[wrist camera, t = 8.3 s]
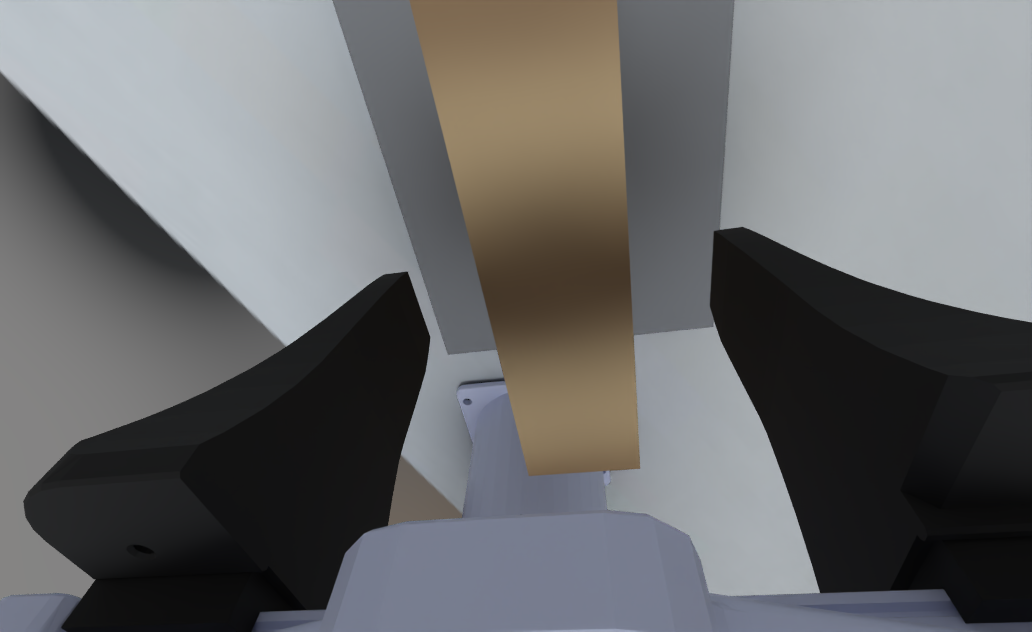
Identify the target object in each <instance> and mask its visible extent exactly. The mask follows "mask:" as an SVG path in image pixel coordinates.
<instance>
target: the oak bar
mask: <svg viewBox="0 0 1032 632" xmlns="http://www.w3.org/2000/svg"><path fill="white" fill-rule="evenodd" d="M409 1H410V5H411V9H412V13H413V17H414V21H415V25H416V29H417V33H418V37H419V41H420V45H421V49H422V53H423V57H424V61H425V65H426V69H427V73H428V77H429V81H430V85H431V89H432V93H433V97H434V101H435V105H436V109H437V113H438V117H439V121H440V125H441V128H442V132H443V136H444V140H445V144H446V148H447V152H448V156H449V160H450V164H451V168H452V172H453V176H454V180H455V184H456V188H457V192H458V196H459V200H460V204H461V208H462V212H463V216H464V220H465V224H466V228H467V232H468V236H469V240H470V244H471V248H472V252H473V256H474V260H475V264H476V268H477V272H478V276H479V280H480V284H481V288H482V292H483V296H484V300H485V304H486V308H487V312H488V316H489V320H490V324H491V328H492V332H493V335H494V339H495V343H496V347H497V351H498V355H499V359H500V363H501V367H502V371H503V375H504V379H505V383H506V387H507V391H508V395H509V399H510V403H511V407H512V411H513V415H514V419H515V423H516V427H517V431H518V435H519V439H520V443H521V447H522V451H523V455H524V459H525V463H526V467H527V471H528V475H529V476H538V475H553V474H568V473H582V472H597V471H612V470H627V469H640V457H639V437H638V416H637V396H636V376H635V356H634V335H633V315H632V295H631V274H630V254H629V234H628V214H627V193H626V173H625V153H624V133H623V112H622V92H621V72H620V51H619V31H618V11H617V0H409Z"/></svg>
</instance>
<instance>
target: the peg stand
mask: <svg viewBox="0 0 1032 632" xmlns="http://www.w3.org/2000/svg"><path fill="white" fill-rule="evenodd" d="M333 4H334V7H335V10H336V13H337V16H338V19H339V22H340V25H341V28H342V31H343V34H344V37H345V40H346V43H347V46H348V50H349V53H350V56H351V59H352V62H353V65H354V68H355V71H356V74H357V77H358V80H359V83H360V86H361V89H362V92H363V96H364V99H365V102H366V105H367V108H368V111H369V114H370V117H371V120H372V123H373V126H374V129H375V132H376V135H377V138H378V142H379V145H380V148H381V151H382V154H383V157H384V160H385V163H386V166H387V169H388V172H389V175H390V178H391V181H392V184H393V188H394V191H395V194H396V197H397V200H398V203H399V206H400V209H401V212H402V215H403V218H404V221H405V224H406V227H407V230H408V234H409V237H410V240H411V243H412V246H413V249H414V252H415V255H416V258H417V261H418V264H419V267H420V270H421V273H422V276H423V280H424V283H425V286H426V289H427V292H428V295H429V298H430V301H431V304H432V307H433V310H434V313H435V316H436V319H437V322H438V326H439V329H440V332H441V335H442V338H443V341H444V344H445V347H446V350H447V353H448V355H450V354H459V353H469V352H478V351H488V350H497V347H496V343H495V339H494V335H493V332H492V328H491V324H490V320H489V316H488V312H487V308H486V304H485V300H484V296H483V292H482V288H481V284H480V280H479V276H478V272H477V268H476V264H475V260H474V256H473V252H472V248H471V244H470V240H469V236H468V232H467V228H466V224H465V220H464V216H463V212H462V208H461V204H460V200H459V196H458V192H457V188H456V184H455V180H454V176H453V172H452V168H451V164H450V160H449V156H448V152H447V148H446V144H445V140H444V136H443V132H442V128H441V125H440V121H439V117H438V113H437V109H436V105H435V101H434V97H433V93H432V89H431V85H430V81H429V77H428V73H427V69H426V65H425V61H424V57H423V53H422V49H421V45H420V41H419V37H418V33H417V29H416V25H415V21H414V17H413V13H412V9H411V5H410V1H409V0H333ZM617 11H618V31H619V51H620V72H621V92H622V112H623V133H624V153H625V173H626V193H627V214H628V234H629V254H630V274H631V295H632V315H633V335H640V334H649V333H659V332H668V331H678V330H688V329H697V328H707V327H713V323H714V318H713V315H712V312H711V309H710V290H711V272H712V253H713V235H714V231H716V230H720V214H721V199H722V183H723V168H724V152H725V137H726V121H727V106H728V90H729V75H730V59H731V44H732V28H733V13H734V0H617Z"/></svg>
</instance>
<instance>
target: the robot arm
mask: <svg viewBox="0 0 1032 632" xmlns="http://www.w3.org/2000/svg"><path fill="white" fill-rule="evenodd" d="M710 309H711V312H712V315H713V318H714V322H715V325H716V328H717V331H718V334H719V337H720V340H721V342H722V344H723V346H724V348H725V350H726V352H727V354H728V356H729V358H730V360H731V362H732V364H733V366H734V368H735V370H736V372H737V374H738V376H739V378H740V380H741V382H742V384H743V386H744V388H745V389H746V391H747V393H748V395H749V397H750V399H751V401H752V403H753V405H754V407H755V409H756V411H757V413H758V415H759V417H760V419H761V421H762V424H763V426H764V428H765V430H766V432H767V435H768V438H769V440H770V443H771V446H772V448H773V451H774V454H775V456H776V459H777V462H778V465H779V467H780V470H781V473H782V476H783V478H784V481H785V484H786V487H787V490H788V493H789V496H790V499H791V502H792V505H793V507H794V510H795V513H796V516H797V519H798V523H799V526H800V529H801V532H802V535H803V538H804V541H805V544H806V548H807V551H808V554H809V557H810V560H811V563H812V566H813V570H814V573H815V577H816V580H817V584H818V587H819V590H820V593H812V594H782V595H752V596H726V595H719V594H712V593H709V591H708V587H707V584H706V580H705V576H704V572H703V568H702V564H701V560H700V558H699V556H698V554H697V552H696V549H695V547H694V545H693V543H692V541H691V539H690V537H689V535H687V534H685V533H683V532H682V531H680V530H678V529H676V528H674V527H672V526H670V525H668V524H666V523H664V522H662V521H660V520H658V519H656V518H654V517H652V516H650V515H648V514H642V513H631V512H621V511H610V510H607V503H606V494H605V486H606V485H608V484H609V483H610V482H611V479H610V471H597V472H582V473H568V474H553V475H538V476H529V475H528V471H527V467H526V463H525V459H524V455H523V451H522V447H521V443H520V439H519V435H518V431H517V427H516V423H515V419H514V415H513V411H512V407H511V403H510V399H509V395H508V391H507V387H506V383H505V381H498V382H488V383H477V384H467V385H461V386H460V387H458V389H457V398H458V401H459V404H460V407H461V410H462V413H463V416H464V419H465V422H466V425H467V428H468V431H469V434H470V437H471V440H472V443H473V449H472V456H471V462H470V469H469V475H468V482H467V489H466V495H465V502H464V508H463V515H462V518H457V519H441V520H440V519H439V520H423V521H407V522H403V523H398V524H394V525H390V526H388V521H389V515H390V509H391V502H392V496H393V491H394V485H395V480H396V474H397V469H398V464H399V459H400V455H401V452H402V448H403V444H404V441H405V438H406V434H407V431H408V428H409V425H410V421H411V418H412V415H413V412H414V408H415V405H416V402H417V399H418V395H419V392H420V389H421V385H422V382H423V379H424V375H425V372H426V366H427V360H428V353H429V344H430V335H429V332H428V329H427V326H426V323H425V321H424V318H423V315H422V312H421V309H420V306H419V303H418V300H417V297H416V295H415V292H414V289H413V286H412V283H411V280H410V277H409V274H408V272H401V273H393V274H386V275H383V276H381V277H379V278H378V279H376V280H375V281H373V282H372V283H371V284H369V285H368V286H367V287H365V288H364V289H363V290H361V291H360V292H359V293H358V294H356V295H355V296H354V297H352V298H351V299H350V300H349V301H347V302H346V303H345V304H344V305H342V306H341V307H340V308H339V309H337V310H336V311H335V312H334V313H332V314H331V315H330V316H328V317H327V318H326V319H324V320H323V321H322V322H320V323H319V324H318V325H316V326H315V327H313V328H312V329H311V330H309V331H308V332H307V333H305V334H304V335H303V336H301V337H300V338H298V339H297V340H296V341H294V342H293V343H291V344H290V345H288V346H287V347H285V348H284V349H282V350H281V351H279V352H278V353H276V354H274V355H273V356H271V357H269V358H268V359H266V360H264V361H263V362H261V363H259V364H258V365H256V366H254V367H253V368H251V369H249V370H247V371H245V372H243V373H241V374H239V375H238V376H236V377H234V378H232V379H230V380H228V381H226V382H224V383H222V384H220V385H218V386H217V387H214V388H212V389H210V390H208V391H207V392H204V393H202V394H200V395H198V396H196V397H193V398H191V399H189V400H187V401H185V402H182V403H180V404H178V405H175V406H173V407H171V408H168V409H166V410H163V411H161V412H159V413H156V414H153V415H151V416H149V417H146V418H143V419H141V420H138V421H135V422H133V423H130V424H127V425H124V426H121V427H119V428H116V429H113V430H110V431H107V432H105V433H102V434H99V435H96V436H93V437H90V438H88V439H84V440H81V441H80V442H78V443H77V444H75V445H74V446H73V447H72V448H71V449H70V450H69V451H68V452H67V453H66V454H65V455H64V456H63V457H62V458H61V459H60V460H59V461H58V462H57V463H56V464H55V465H54V466H53V467H52V468H51V469H50V470H49V471H48V472H47V473H46V474H45V475H44V476H43V477H42V478H41V480H39V481H38V482H37V484H36V485H34V486H33V488H32V489H31V490H30V491H29V492H28V494H27V495H26V497H25V499H24V501H23V502H24V509H25V516H26V518H27V520H28V522H29V523H30V525H31V527H32V528H33V530H34V531H35V532H36V533H38V534H39V535H40V536H41V537H42V538H43V539H44V540H45V541H46V542H47V543H49V544H50V545H51V546H52V547H54V548H55V549H56V550H58V551H59V552H60V553H61V554H63V555H64V556H65V557H66V558H68V559H69V560H70V561H72V562H73V563H74V564H75V565H77V566H78V567H79V568H81V569H82V570H83V571H84V572H86V573H87V574H88V575H90V576H91V577H92V578H93V579H96V580H95V581H94V583H93V584H92V586H91V587H90V588H89V589H88V591H87V592H86V594H85V595H84V596H83V598H82V599H81V598H79V597H76V596H73V595H70V594H62V593H52V594H51V593H50V594H26V595H10V596H8V597H4V598H3V599H2V600H1V601H0V632H1032V322H1026V321H1020V320H1014V319H1008V318H1003V317H998V316H993V315H988V314H983V313H978V312H974V311H969V310H965V309H961V308H957V307H953V306H948V305H944V304H940V303H936V302H932V301H928V300H925V299H921V298H917V297H914V296H910V295H907V294H904V293H901V292H897V291H894V290H891V289H888V288H885V287H882V286H879V285H875V284H873V283H870V282H867V281H864V280H861V279H859V278H856V277H854V276H851V275H849V274H846V273H844V272H841V271H839V270H836V269H834V268H831V267H829V266H827V265H824V264H822V263H820V262H817V261H815V260H813V259H811V258H809V257H806V256H804V255H802V254H800V253H798V252H796V251H794V250H792V249H790V248H787V247H785V246H783V245H781V244H779V243H777V242H775V241H773V240H771V239H769V238H767V237H765V236H763V235H761V234H758V233H756V232H754V231H752V230H749V229H747V228H744V227H739V228H731V229H724V230H716V231H714V235H713V253H712V272H711V290H710ZM466 399H470V400H466Z"/></svg>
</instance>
